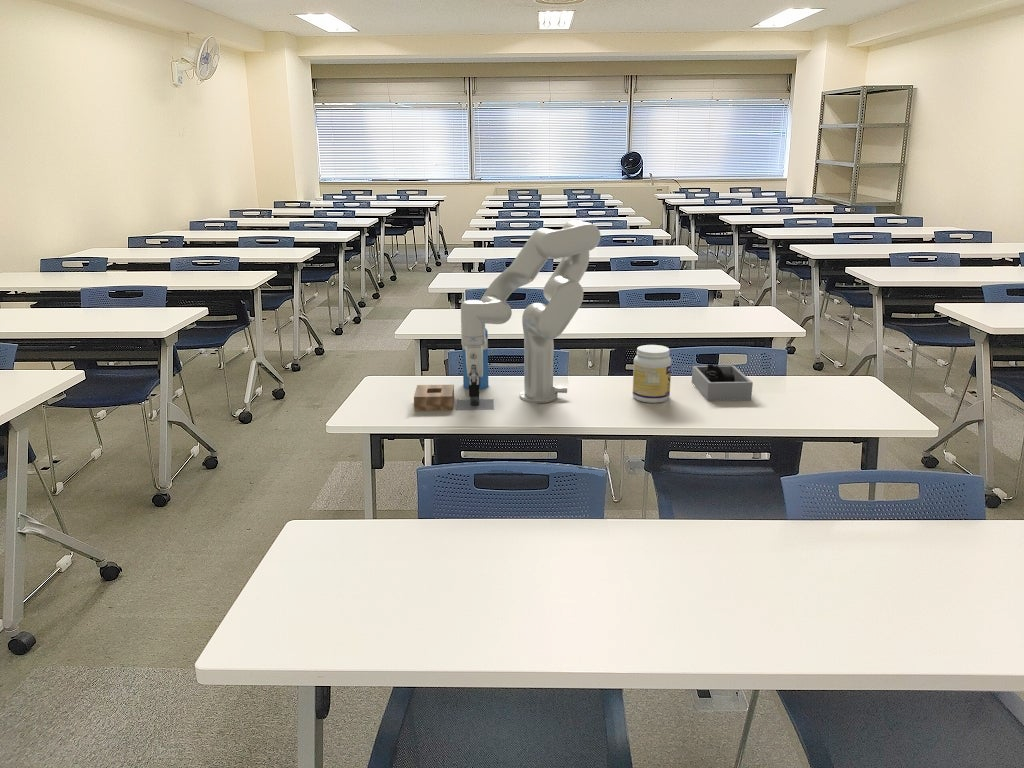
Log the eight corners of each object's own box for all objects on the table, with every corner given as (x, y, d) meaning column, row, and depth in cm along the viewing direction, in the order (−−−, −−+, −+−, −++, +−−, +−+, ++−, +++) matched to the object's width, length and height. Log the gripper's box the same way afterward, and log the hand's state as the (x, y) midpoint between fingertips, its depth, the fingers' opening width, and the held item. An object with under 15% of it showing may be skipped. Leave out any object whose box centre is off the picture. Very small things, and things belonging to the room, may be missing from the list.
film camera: (734, 399, 243) (737, 373, 240) (704, 397, 245) (706, 371, 242) (731, 385, 257) (733, 360, 255) (702, 383, 259) (704, 359, 256)
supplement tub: (672, 404, 239) (675, 353, 234) (634, 404, 239) (637, 353, 234) (665, 392, 251) (668, 343, 245) (629, 391, 251) (631, 343, 246)
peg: (479, 402, 240) (478, 370, 236) (479, 405, 237) (478, 373, 234) (470, 402, 240) (469, 370, 236) (470, 406, 237) (469, 373, 234)
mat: (493, 400, 243) (493, 399, 243) (493, 410, 234) (493, 409, 234) (457, 400, 243) (457, 399, 243) (455, 411, 234) (455, 410, 234)
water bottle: (458, 384, 260) (456, 314, 252) (483, 380, 264) (481, 312, 256) (468, 392, 252) (466, 320, 244) (493, 388, 255) (492, 317, 248)
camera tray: (732, 381, 261) (733, 365, 259) (751, 399, 242) (752, 382, 240) (691, 382, 260) (692, 366, 258) (707, 400, 242) (708, 383, 240)
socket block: (454, 398, 245) (453, 384, 244) (452, 411, 234) (452, 396, 232) (417, 399, 245) (417, 385, 243) (414, 411, 233) (413, 396, 232)
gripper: (485, 346, 224) (486, 400, 229) (485, 333, 240) (486, 383, 245) (460, 347, 224) (461, 400, 229) (462, 333, 240) (463, 383, 245)
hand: (474, 391), depth 237 cm, fingers open, 9 cm apart
